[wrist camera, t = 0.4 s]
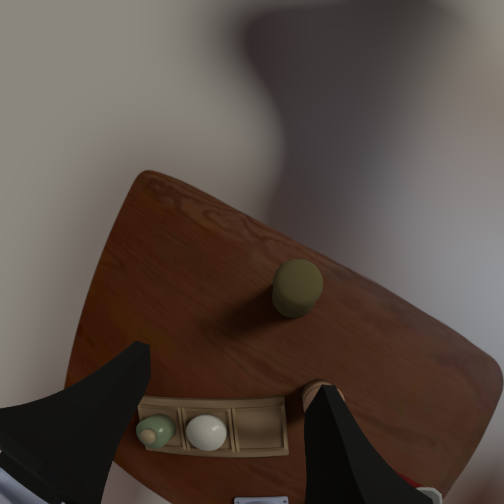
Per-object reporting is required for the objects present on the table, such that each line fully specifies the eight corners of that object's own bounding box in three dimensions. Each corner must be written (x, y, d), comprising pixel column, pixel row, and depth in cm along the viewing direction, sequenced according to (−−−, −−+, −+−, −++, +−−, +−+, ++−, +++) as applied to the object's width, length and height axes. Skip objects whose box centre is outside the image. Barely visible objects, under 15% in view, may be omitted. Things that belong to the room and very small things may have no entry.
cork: (263, 303, 37) (256, 291, 27) (285, 266, 38) (287, 240, 28) (301, 326, 36) (310, 323, 25) (323, 287, 37) (339, 269, 27)
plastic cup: (343, 467, 29) (362, 508, 17) (409, 445, 28) (447, 474, 17) (345, 514, 26) (360, 556, 14) (407, 494, 25) (436, 527, 14)
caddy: (288, 451, 31) (288, 456, 29) (149, 447, 32) (144, 450, 31) (284, 395, 33) (284, 397, 32) (141, 395, 35) (135, 397, 33)
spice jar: (336, 407, 32) (347, 421, 25) (301, 412, 32) (305, 428, 26) (334, 375, 33) (345, 383, 27) (298, 380, 34) (302, 390, 27)
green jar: (178, 441, 31) (164, 453, 26) (151, 438, 32) (134, 449, 27) (174, 414, 33) (159, 424, 28) (146, 411, 33) (129, 420, 28)
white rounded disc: (229, 446, 31) (226, 451, 29) (193, 444, 31) (188, 449, 29) (225, 413, 32) (222, 417, 30) (188, 412, 33) (184, 416, 31)
